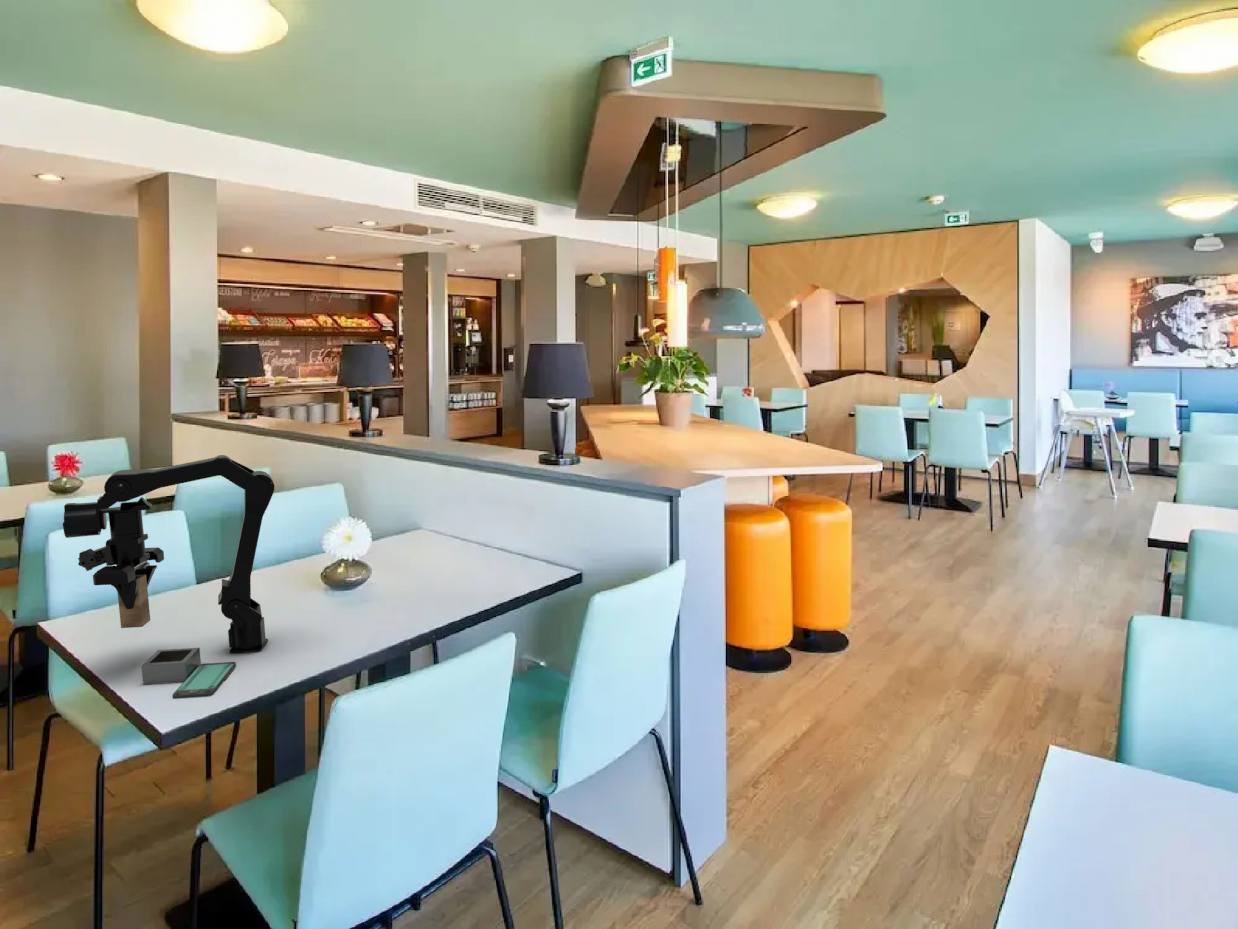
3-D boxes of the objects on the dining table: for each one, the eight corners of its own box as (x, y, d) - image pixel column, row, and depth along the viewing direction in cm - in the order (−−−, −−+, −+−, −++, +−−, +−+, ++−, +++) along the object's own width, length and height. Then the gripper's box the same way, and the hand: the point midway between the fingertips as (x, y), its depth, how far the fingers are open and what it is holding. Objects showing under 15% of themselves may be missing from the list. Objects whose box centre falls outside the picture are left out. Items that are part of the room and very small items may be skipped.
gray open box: (201, 665, 162) (199, 647, 162) (186, 681, 154) (185, 662, 154) (159, 668, 161) (157, 650, 160) (143, 684, 153) (141, 665, 153)
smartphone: (171, 694, 147) (200, 663, 161) (171, 701, 147) (200, 668, 162) (212, 692, 148) (237, 660, 163) (213, 698, 148) (238, 666, 163)
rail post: (150, 620, 164) (146, 574, 162) (142, 626, 160) (137, 580, 159) (129, 621, 163) (125, 575, 162) (121, 628, 159) (116, 581, 158)
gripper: (105, 523, 166) (112, 593, 169) (59, 545, 148) (68, 623, 151) (161, 521, 168) (168, 591, 171) (122, 542, 150) (130, 620, 152)
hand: (134, 605), depth 161 cm, fingers closed on rail post, 4 cm apart
